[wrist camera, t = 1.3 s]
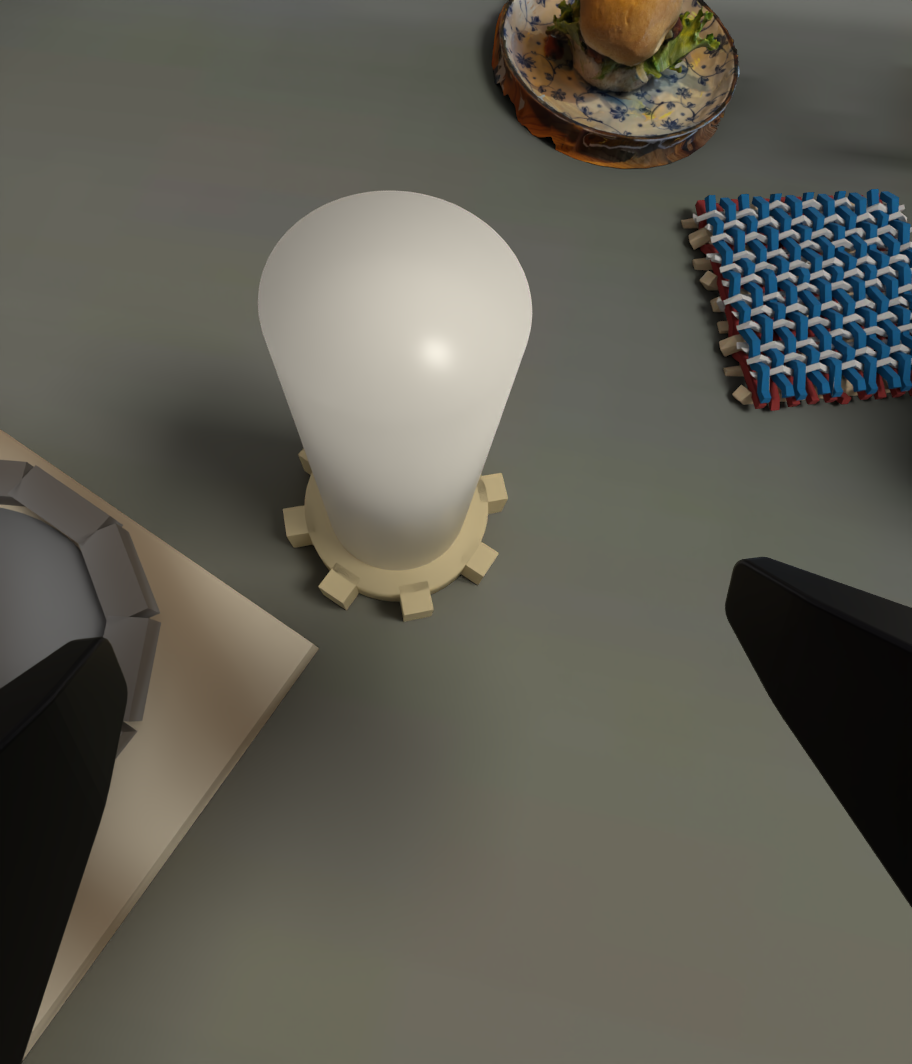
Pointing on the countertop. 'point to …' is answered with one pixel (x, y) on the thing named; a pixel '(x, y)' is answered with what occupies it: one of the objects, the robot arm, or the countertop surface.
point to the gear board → (133, 678)
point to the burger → (616, 76)
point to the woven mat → (810, 294)
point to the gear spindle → (395, 387)
